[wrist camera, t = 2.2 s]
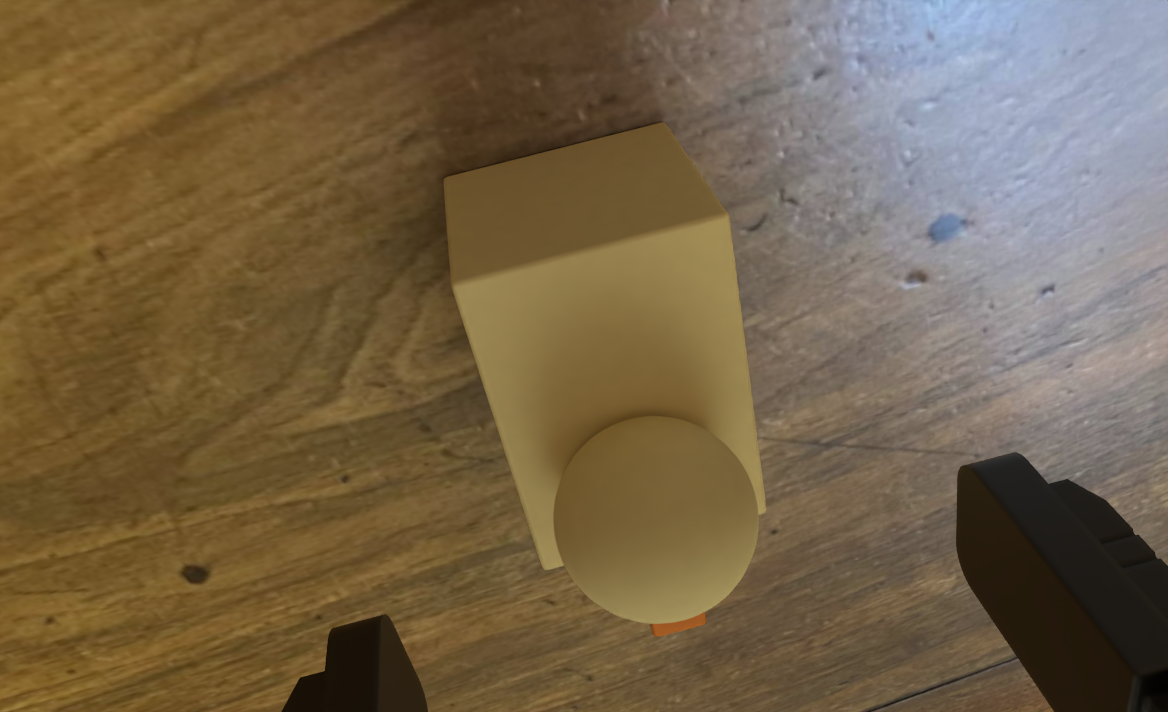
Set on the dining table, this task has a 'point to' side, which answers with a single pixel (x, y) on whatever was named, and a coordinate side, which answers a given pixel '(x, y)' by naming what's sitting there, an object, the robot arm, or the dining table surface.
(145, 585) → the dining table surface
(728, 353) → the duck
